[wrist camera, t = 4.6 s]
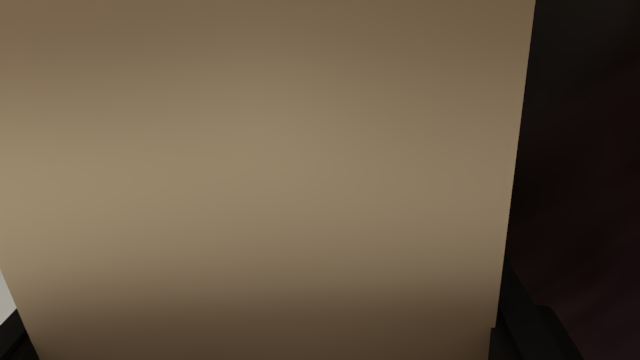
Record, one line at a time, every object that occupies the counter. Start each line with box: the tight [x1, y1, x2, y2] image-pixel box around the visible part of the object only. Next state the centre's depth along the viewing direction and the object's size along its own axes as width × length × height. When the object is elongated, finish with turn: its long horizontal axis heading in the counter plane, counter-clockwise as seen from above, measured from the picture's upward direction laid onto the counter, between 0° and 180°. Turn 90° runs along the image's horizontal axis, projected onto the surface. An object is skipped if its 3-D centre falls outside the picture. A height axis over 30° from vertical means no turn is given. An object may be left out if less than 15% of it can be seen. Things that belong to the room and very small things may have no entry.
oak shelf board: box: [0, 0, 535, 360], centre depth 9 cm, size 18×7×4 cm, turn 4°
